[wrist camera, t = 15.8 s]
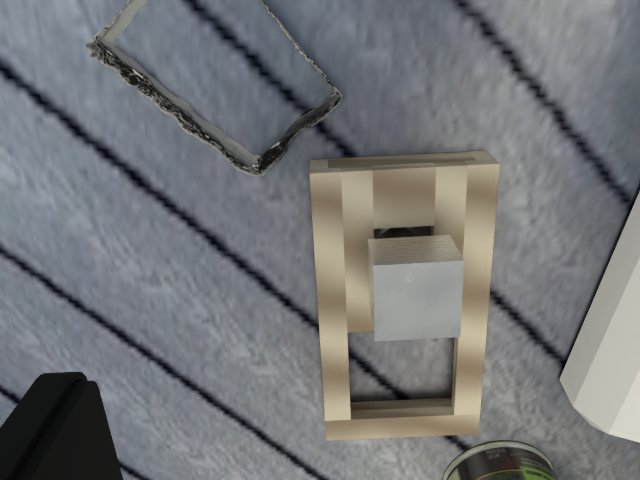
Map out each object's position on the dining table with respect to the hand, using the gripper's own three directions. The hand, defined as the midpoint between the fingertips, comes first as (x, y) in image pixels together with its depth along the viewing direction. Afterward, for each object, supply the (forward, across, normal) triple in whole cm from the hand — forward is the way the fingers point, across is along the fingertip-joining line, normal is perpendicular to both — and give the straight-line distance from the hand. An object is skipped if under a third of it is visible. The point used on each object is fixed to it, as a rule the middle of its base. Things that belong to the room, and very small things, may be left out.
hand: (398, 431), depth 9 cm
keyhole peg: (+30, -4, +10) cm, 32 cm away
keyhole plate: (+30, -4, +15) cm, 34 cm away
